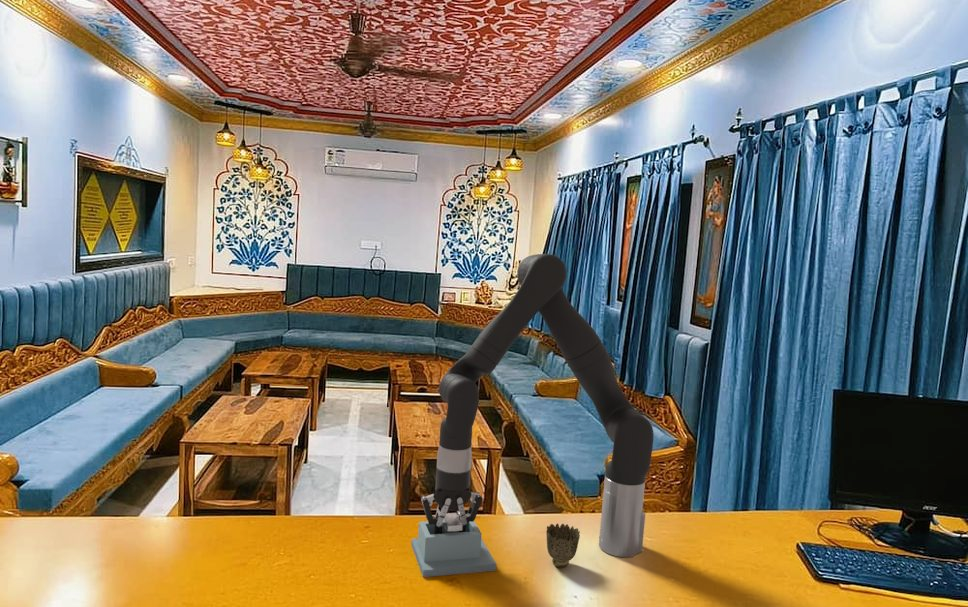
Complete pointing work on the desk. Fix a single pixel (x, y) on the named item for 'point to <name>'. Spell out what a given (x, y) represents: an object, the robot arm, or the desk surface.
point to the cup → (562, 543)
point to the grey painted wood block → (451, 523)
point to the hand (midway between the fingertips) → (449, 539)
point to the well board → (451, 551)
